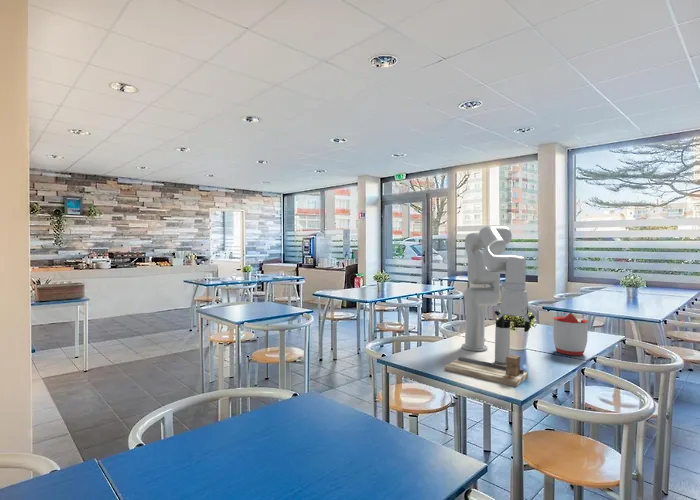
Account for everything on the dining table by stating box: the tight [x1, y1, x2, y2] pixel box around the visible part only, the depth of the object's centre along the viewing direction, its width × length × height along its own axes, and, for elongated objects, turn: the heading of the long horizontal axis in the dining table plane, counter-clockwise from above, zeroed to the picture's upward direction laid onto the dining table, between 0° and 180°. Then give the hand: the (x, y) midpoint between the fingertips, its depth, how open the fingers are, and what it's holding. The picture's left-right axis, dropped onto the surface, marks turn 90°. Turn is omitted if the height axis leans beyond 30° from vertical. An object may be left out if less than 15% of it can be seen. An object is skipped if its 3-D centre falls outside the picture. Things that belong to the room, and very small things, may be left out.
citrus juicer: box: [552, 313, 589, 356], centre depth 209 cm, size 16×17×20 cm
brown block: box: [505, 353, 521, 376], centre depth 167 cm, size 8×4×7 cm, turn 140°
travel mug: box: [494, 318, 512, 366], centre depth 190 cm, size 6×7×20 cm
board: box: [444, 356, 529, 388], centre depth 175 cm, size 14×30×4 cm, turn 50°
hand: (514, 329), depth 168 cm, fingers open, 9 cm apart
